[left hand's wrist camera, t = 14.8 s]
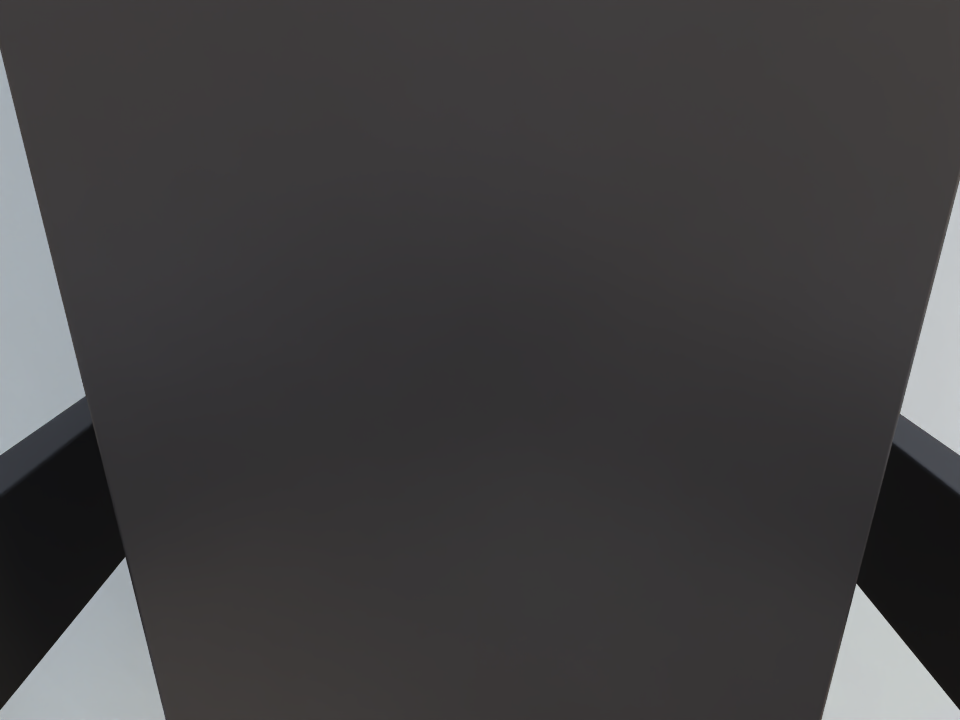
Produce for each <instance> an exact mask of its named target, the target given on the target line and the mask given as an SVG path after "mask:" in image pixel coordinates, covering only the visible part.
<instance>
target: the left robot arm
mask: <svg viewBox="0 0 960 720" xmlns="http://www.w3.org/2000/svg"><path fill="white" fill-rule="evenodd" d="M124 558H125V552H124V548H123V544H122V540H121V536H120V532H119V528H118V524H117V520H116V516H115V512H114V508H113V504H112V500H111V496H110V492H109V487H108V483H107V479H106V475H105V471H104V467H103V463H102V459H101V455H100V451H99V447H98V443H97V439H96V435H95V431H94V427H93V423H92V419H91V414H90V410H89V406H88V402H87V398H86V396H85V397H84V398H82V399H81V400H79V401H78V402H77V403H75V404H74V405H72V406H71V407H69V408H68V409H66V410H65V411H64V412H62V413H61V414H59V415H58V416H56V417H55V418H54V419H52V420H51V421H49V422H48V423H46V424H45V425H43V426H42V427H41V428H39V429H38V430H36V431H35V432H33V433H32V434H31V435H29V436H28V437H26V438H25V439H23V440H22V441H20V442H19V443H18V444H16V445H15V446H13V447H12V448H10V449H9V450H8V451H6V452H5V453H3V454H2V455H0V710H1V708H2V707H3V706H4V705H5V704H6V702H7V701H8V700H9V699H10V697H11V696H12V695H13V694H14V692H15V691H16V690H17V689H18V688H19V686H20V685H21V684H22V683H23V681H24V680H25V679H26V678H27V677H28V675H29V674H30V673H31V672H32V670H33V669H34V668H35V667H36V666H37V664H38V663H39V662H40V661H41V659H42V658H43V657H44V656H45V654H46V653H47V652H48V651H49V650H50V648H51V647H52V646H53V645H54V643H55V642H56V641H57V640H58V639H59V637H60V636H61V635H62V634H63V632H64V631H65V630H66V629H67V628H68V626H69V625H70V624H71V623H72V621H73V620H74V619H75V618H76V616H77V615H78V614H79V613H80V612H81V610H82V609H83V608H84V607H85V605H86V604H87V603H88V602H89V601H90V599H91V598H92V597H93V596H94V594H95V593H96V592H97V591H98V590H99V588H100V587H101V586H102V585H103V583H104V582H105V581H106V580H107V578H108V577H109V576H110V575H111V574H112V572H113V571H114V570H115V569H116V567H117V566H118V565H119V564H120V563H121V561H122V560H123V559H124ZM856 583H857V585H858V586H859V587H860V588H861V590H862V591H863V592H864V593H865V594H866V596H867V597H868V598H869V599H870V601H871V602H872V603H873V604H874V605H875V607H876V608H877V609H878V610H879V612H880V613H881V614H882V615H883V616H884V618H885V619H886V620H887V621H888V623H889V624H890V625H891V626H892V628H893V629H894V630H895V631H896V632H897V634H898V635H899V636H900V637H901V639H902V640H903V641H904V642H905V643H906V645H907V646H908V647H909V648H910V650H911V651H912V652H913V653H914V654H915V656H916V657H917V658H918V659H919V661H920V662H921V663H922V664H923V666H924V667H925V668H926V669H927V670H928V672H929V673H930V674H931V675H932V677H933V678H934V679H935V680H936V681H937V683H938V684H939V685H940V686H941V688H942V689H943V690H944V691H945V693H946V694H947V695H948V696H949V697H950V699H951V700H952V701H953V702H954V704H955V705H956V706H957V707H958V708H959V710H960V455H958V454H957V453H955V452H954V451H952V450H951V449H950V448H948V447H947V446H945V445H944V444H942V443H941V442H940V441H938V440H937V439H935V438H934V437H932V436H931V435H929V434H928V433H927V432H925V431H924V430H922V429H921V428H919V427H918V426H917V425H915V424H914V423H912V422H911V421H909V420H908V419H906V418H905V417H904V416H902V415H901V414H900V415H899V418H898V422H897V426H896V430H895V434H894V438H893V442H892V446H891V450H890V454H889V458H888V461H887V465H886V469H885V473H884V477H883V481H882V485H881V489H880V493H879V497H878V500H877V504H876V508H875V512H874V516H873V520H872V524H871V528H870V532H869V536H868V540H867V543H866V547H865V551H864V555H863V559H862V563H861V567H860V571H859V575H858V579H857V582H856Z"/></svg>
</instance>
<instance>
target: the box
mask: <svg viewBox="0 0 960 720" xmlns="http://www.w3.org/2000/svg"><path fill="white" fill-rule="evenodd" d="M0 50H1V54H2V58H3V62H4V66H5V70H6V74H7V78H8V82H9V86H10V90H11V94H12V98H13V102H14V106H15V110H16V115H17V119H18V123H19V127H20V131H21V135H22V139H23V143H24V147H25V151H26V155H27V159H28V163H29V167H30V171H31V175H32V179H33V183H34V187H35V192H36V196H37V200H38V204H39V208H40V212H41V216H42V220H43V224H44V228H45V232H46V236H47V240H48V244H49V248H50V252H51V256H52V260H53V265H54V269H55V273H56V277H57V281H58V285H59V289H60V293H61V297H62V301H63V305H64V309H65V313H66V317H67V321H68V325H69V329H70V333H71V337H72V342H73V346H74V350H75V354H76V358H77V362H78V366H79V370H80V374H81V378H82V382H83V386H84V390H85V394H86V398H87V402H88V406H89V410H90V414H91V419H92V423H93V427H94V431H95V435H96V439H97V443H98V447H99V451H100V455H101V459H102V463H103V467H104V471H105V475H106V479H107V483H108V487H109V492H110V496H111V500H112V504H113V508H114V512H115V516H116V520H117V524H118V528H119V532H120V536H121V540H122V544H123V548H124V552H125V556H126V560H127V564H128V569H129V573H130V577H131V581H132V585H133V589H134V593H135V597H136V601H137V605H138V609H139V613H140V617H141V621H142V625H143V629H144V633H145V637H146V641H147V646H148V650H149V654H150V658H151V662H152V666H153V670H154V674H155V678H156V682H157V686H158V690H159V694H160V698H161V702H162V706H163V710H164V714H165V719H166V720H821V719H822V715H823V711H824V707H825V704H826V700H827V696H828V692H829V688H830V684H831V680H832V676H833V672H834V668H835V664H836V661H837V657H838V653H839V649H840V645H841V641H842V637H843V633H844V629H845V625H846V622H847V618H848V614H849V610H850V606H851V602H852V598H853V594H854V590H855V586H856V582H857V579H858V575H859V571H860V567H861V563H862V559H863V555H864V551H865V547H866V543H867V540H868V536H869V532H870V528H871V524H872V520H873V516H874V512H875V508H876V504H877V500H878V497H879V493H880V489H881V485H882V481H883V477H884V473H885V469H886V465H887V461H888V458H889V454H890V450H891V446H892V442H893V438H894V434H895V430H896V426H897V422H898V418H899V415H900V411H901V407H902V403H903V399H904V395H905V391H906V387H907V383H908V379H909V376H910V372H911V368H912V364H913V360H914V356H915V352H916V348H917V344H918V340H919V336H920V333H921V329H922V325H923V321H924V317H925V313H926V309H927V305H928V301H929V297H930V293H931V290H932V286H933V282H934V278H935V274H936V270H937V266H938V262H939V258H940V254H941V251H942V247H943V243H944V239H945V235H946V231H947V227H948V223H949V219H950V215H951V211H952V208H953V204H954V200H955V196H956V192H957V188H958V184H959V180H960V0H0Z"/></svg>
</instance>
